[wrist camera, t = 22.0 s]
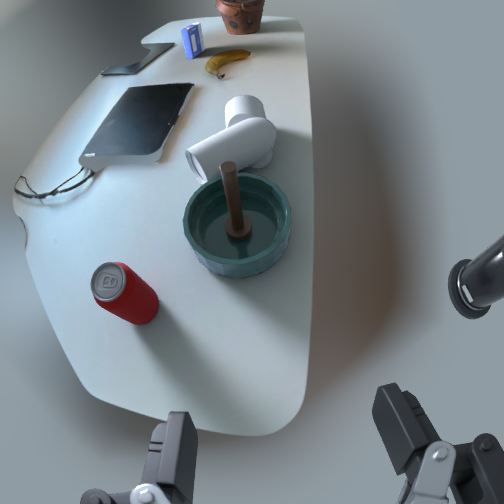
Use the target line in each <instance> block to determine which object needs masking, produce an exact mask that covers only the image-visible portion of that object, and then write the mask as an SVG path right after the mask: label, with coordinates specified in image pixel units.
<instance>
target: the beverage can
mask: <svg viewBox="0 0 504 504" xmlns="http://www.w3.org/2000/svg"><path fill="white" fill-rule="evenodd" d="M91 290H92V293H93V296H94V299H95V301H96V302H97V304H98V305H99V306H101V307H102V308H104V309H106V310H107V311H109V312H111V313H113V314H115V315H116V316H118V317H120V318H122V319H124V320H126V321H128V322H130V323H132V324H136V325H142V324H146V323H148V322H149V321H151V320H152V319H153V318H154V316H155V315H156V313H157V311H158V306H159V301H158V297H157V294H156V293H155V291H154V290H153V289H152V288H151V287H150V286H149V285H148V284H147V283H146V282H145V281H143V280H142V279H141V278H140V277H139V276H138V275H137V274H136V273H135V272H134V271H133V270H132V269H130V268H129V267H128V266H127V265H125V264H123V263H120V262H107V263H104V264H102V265H101V266H99V267H98V268H97V269H96V271H95V272H94V274H93V276H92V279H91Z"/></svg>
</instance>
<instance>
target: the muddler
mask: <svg viewBox="0 0 504 504" xmlns="http://www.w3.org/2000/svg"><path fill="white" fill-rule="evenodd" d="M220 170H221V175H222V180H223V185H224V190H225V195H226V200H227V205H228V209H229V214H230V217H229V218H228V219H227V220H226V222H225V231H226V235H227V237H228V238H229V239H230V240H231V241H234V242H243V241H246V240H247V239H248V238H249V237H250V236H251V234H252V223H251V220H250V218H249V217H248V216H246V215H244V214H243V211H242V204H241V197H240V189H239V182H238V175H237V167H236V164H235V163H234V162H232V161H226V162H223V163H222V164H221V166H220Z"/></svg>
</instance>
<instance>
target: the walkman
mask: <svg viewBox="0 0 504 504" xmlns="http://www.w3.org/2000/svg"><path fill="white" fill-rule="evenodd" d="M181 33H182V38H183V43H184V48H185V53H186V57H187V58H192V59H193V58H195V57H196V56H197V55H199V54H200V53H201V52H203V51H204V50H205V48H204V42H203V36H202V30H201V24H200V23H193V24H191V25H189V26H188V27H186V28H184V29H182V30H181Z"/></svg>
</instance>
